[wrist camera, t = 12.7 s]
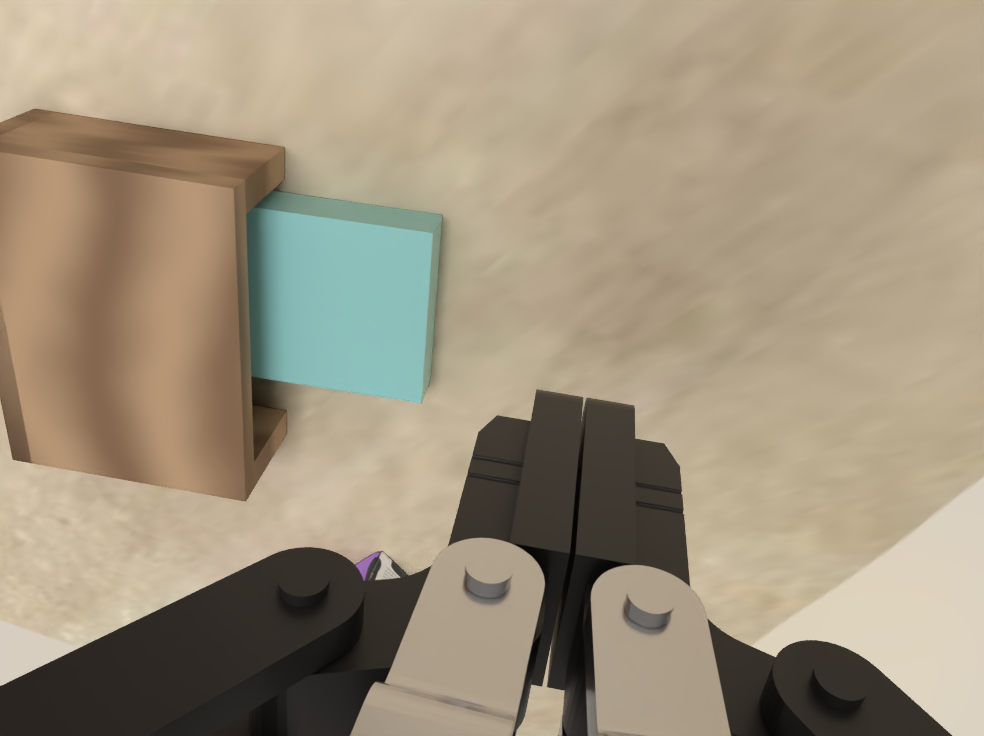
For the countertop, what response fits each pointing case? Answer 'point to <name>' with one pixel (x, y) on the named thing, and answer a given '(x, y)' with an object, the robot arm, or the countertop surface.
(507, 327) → the countertop surface
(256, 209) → the thin teal board
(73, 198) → the wood block
